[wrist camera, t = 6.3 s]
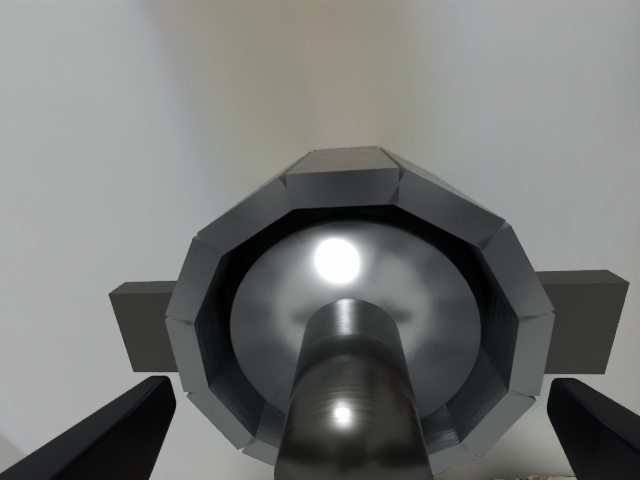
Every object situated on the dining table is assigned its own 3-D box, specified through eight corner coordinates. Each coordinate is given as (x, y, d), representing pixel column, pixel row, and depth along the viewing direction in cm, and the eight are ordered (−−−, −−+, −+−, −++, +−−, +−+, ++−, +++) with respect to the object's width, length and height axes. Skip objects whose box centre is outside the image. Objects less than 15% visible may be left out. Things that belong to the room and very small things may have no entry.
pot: (539, 135, 13) (718, 148, 6) (507, 351, 16) (605, 495, 10) (172, 159, 14) (36, 188, 8) (213, 352, 17) (140, 476, 11)
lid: (479, 206, 9) (623, 301, 4) (460, 409, 11) (537, 613, 7) (223, 218, 10) (104, 309, 5) (256, 406, 12) (197, 588, 7)
